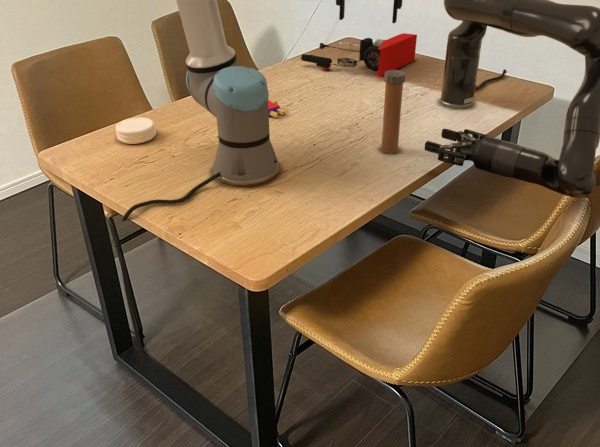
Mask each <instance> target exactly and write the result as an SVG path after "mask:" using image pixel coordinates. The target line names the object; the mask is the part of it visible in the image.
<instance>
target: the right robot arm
mask: <svg viewBox="0 0 600 447" xmlns="http://www.w3.org/2000/svg"><path fill="white" fill-rule="evenodd" d="M443 6H444V10H445V12H446V13H447V15H448V16H449V17H451V19H453V20H455V21H461V23H459V25H458V26H456V27H454V28H453V29H452V30H451V31H449V33H448V35H447V42H446V49H445V50H446V51H445V59H444V68H443V77H442V85H441V94H440V98H439V99H440V100H439V101H440V104H441V105H443V106H444V107H448V108H451V109H467V108H470V107H473V105H474V102H475V93H476V91H479V90H481V88H482V87H483V86H485V84H488V83H490V82H495V81H498V80H500V79H503V78H504V77H505V75H506V74H507V70H506V69H505V68H504V69H503V70H502V73H501V75H499V76H495V77H491V78H487V79H486V80H483V81H482V82H481V83H480V84H479V85H478V86H477V78H478V72H479V64H480V59H481V50H482V43H483V39H484V37H485V36H486V34H487V29H488V27H489V28H493V29H496V30H499V31H503V32H505V33H508V34H512V35H515V36H518V37H521V38H522V37H523V38H535V37H540V36H541V37H546V38H549V39H552V40H554V41H557V42H559V43H561V44H563V45H565V46H567V47H568V48H570V49H572V50H573V51H575V52H577V53H578V54H580V55H582V56H584V75H583V79H582V82H581V84H580V86H579V88H578V90H577V91H576V93H574V94H575V95H574V96H573V98H572V99H571V101H570V103H569V105H568V108H567V112H566V116H565V122H564V131H563V139H562V141H563V142H562V146H561V150H560V154H559V158H558V159H556V158H554V157H552V156H551V155H550V154H548V153H547V152H546V153H545V152H543V151H540V150H537V149H533V148H529V147H526V146H523V145H520V144H518V143H515V142H511V141H507V140H503V139H500V138H496V137H493V136H488V134H485V133H482V132H478V131H475V130H472V129H468V128H465V129H464V130H463V131H462V130H458V131H456V130H452V129H448V128H443V129H442V130H441V138H442V139H446V140H449V141H453V142H451V143H449V144H440V143H437V142H433V141H431V140H430V141H429V140H427V141H425V142H424V151H426V152H429V153H432V154H436V155H437V161H438V162H439V161H440V162H444V163H447V164H450V165H455V166H458V167H463V166H464V163H465V161H469V162H472V163H473V165H474V167H475V169H477V170H481V171H483V172H484V171H485V172H487V173H491V174H494V175H498V176H501V177H505V178H511V179H515V180H519V181H523V182H525V183H529V184H534V185H538V186H541V187H543V188H545V189H548V190H550V191H552V192H556V193H558V194H560V195H564V196H566V197H569V198H575V199H579V198H584V197H586V196H589V195H590V194H591V193H593V191H594V190H595V188H596V184H597V178H596V174H595V164H596V163H595V161H596V154H597V149H598V147H599V144H600V7H597V6H593V5H585V4H569V3H559V2H555V1H552V0H443Z"/></svg>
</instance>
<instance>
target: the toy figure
mask: <svg viewBox="0 0 600 447" xmlns="http://www.w3.org/2000/svg"><path fill="white" fill-rule="evenodd" d="M268 107H269V117H270V116H271V117H273V118H277V117H279V115H281V116H283V115H285V114H286V110H284V109H282V108H281V107H280V105H279V104H278V101H277V100H269V99H268Z"/></svg>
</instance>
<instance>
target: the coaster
mask: <svg viewBox="0 0 600 447" xmlns="http://www.w3.org/2000/svg"><path fill="white" fill-rule="evenodd" d="M155 124H156V123H155V122H154V120H152V119H150V118H147V117H143V116H141V117H140V116H139V117H129V118H126V119H123V120H121V121H119V122H118V123H116V125H115V128H114V129H115V134H116V138H117V140H118V141H119V142H121V143H124V144H128V145H135V144H136V145H137V144H142V143H146V142H149V141H150V140H153V138H155V137H156V135H157V131H156V126H155Z"/></svg>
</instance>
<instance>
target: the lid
mask: <svg viewBox="0 0 600 447" xmlns="http://www.w3.org/2000/svg"><path fill="white" fill-rule="evenodd" d="M383 76H384V79H383V81H384V82H385V84H386V83H389V84H401V83H403V84H404V83H405V81H406V72H405V71H403V70H399V69H395V70H389V71H386V72H385V74H384V75H383Z"/></svg>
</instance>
